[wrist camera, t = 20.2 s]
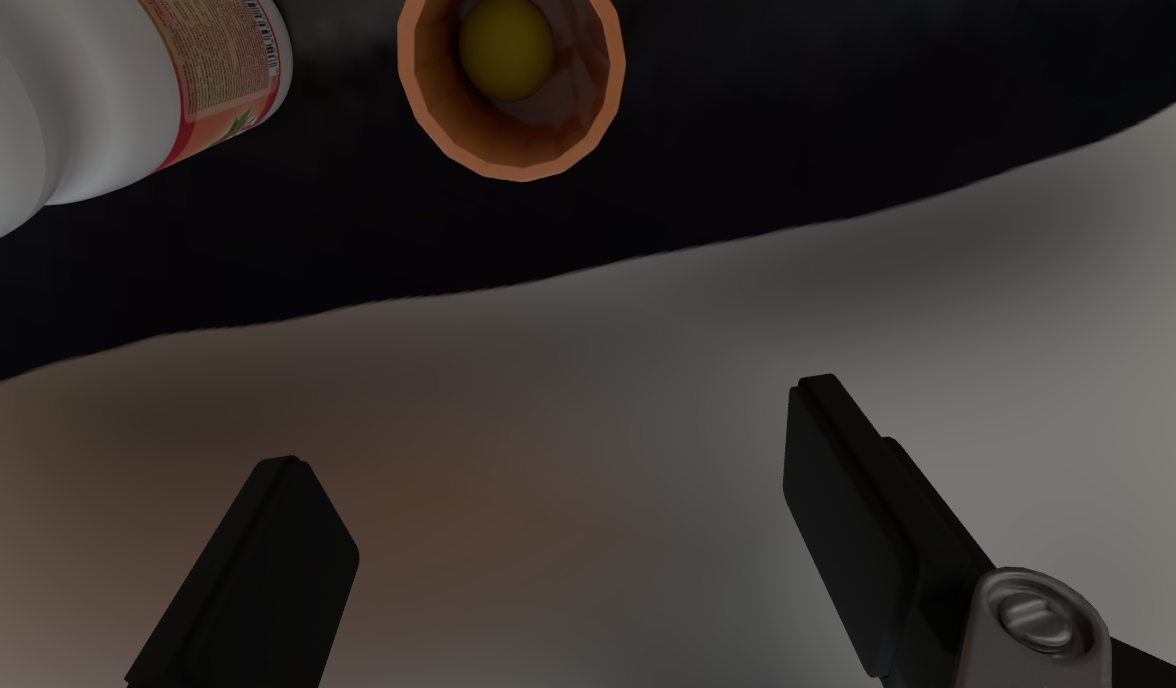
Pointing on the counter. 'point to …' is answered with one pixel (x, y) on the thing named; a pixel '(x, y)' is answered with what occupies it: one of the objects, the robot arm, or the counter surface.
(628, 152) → the counter surface
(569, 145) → the tube
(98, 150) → the fruit juice
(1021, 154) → the counter surface
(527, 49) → the ball
